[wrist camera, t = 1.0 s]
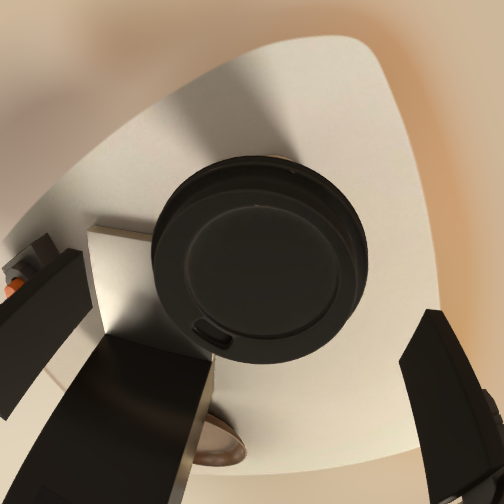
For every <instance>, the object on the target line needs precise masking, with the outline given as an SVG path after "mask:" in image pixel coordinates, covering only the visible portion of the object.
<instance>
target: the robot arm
mask: <svg viewBox="0 0 504 504" xmlns="http://www.w3.org/2000/svg"><path fill="white" fill-rule="evenodd" d="M92 308H93V306H92V302H91V297H90V292H89V287H88V282H87V276H86V271H85V265H84V259H83V252H82V251H80V250H76V249H71V248H67V249H66V250H65V251H64V252H62V253H61V254H60V255H58V256H57V257H56V258H55V259H53V260H52V261H51V262H50V263H48V264H47V265H46V266H45V267H43V268H42V269H41V270H40V271H39V272H37V273H36V274H35V275H34V276H33V277H31V278H30V279H29V280H28V281H27V282H26V283H24V284H23V285H22V286H21V287H20V288H19V289H17V290H16V291H15V292H14V293H13V294H12V295H11V296H10V297H9V298H7V299H6V300H5V301H4V302H3V303H2V304H0V417H1V418H2V419H4V420H5V421H6V420H7V419H8V417H9V416H10V414H11V413H12V411H13V410H14V408H15V407H16V406H17V404H18V403H19V401H20V400H21V398H22V397H23V396H24V394H25V393H26V391H27V390H28V389H29V387H30V386H31V384H32V383H33V382H34V380H35V379H36V377H37V376H38V375H39V374H40V372H41V371H42V370H43V368H44V367H45V366H46V364H47V363H48V362H49V360H50V359H51V358H52V357H53V355H54V354H55V353H56V351H57V350H58V349H59V348H60V346H61V345H62V344H63V343H64V341H65V340H66V339H67V338H68V336H69V335H70V334H71V333H72V332H73V330H74V329H75V328H76V327H77V326H78V324H79V323H80V322H81V321H82V320H83V318H84V317H85V316H86V315H87V314H88V312H89V311H90V310H91V309H92ZM399 365H400V368H401V371H402V375H403V378H404V382H405V385H406V389H407V393H408V397H409V400H410V404H411V408H412V412H413V416H414V420H415V424H416V429H417V433H418V438H419V442H420V447H421V452H422V457H423V462H424V467H425V473H426V479H427V485H428V492H429V499H430V504H447V503H450V502H452V501H454V500H455V499H457V498H459V497H460V496H462V500H463V501H462V502H460V503H458V504H504V424H503V420H502V418H501V415H499V410H498V408H497V406H496V403H495V401H494V399H493V398H492V397H491V395H490V394H489V393H488V392H487V391H486V389H481V386H480V384H479V382H478V379H477V377H476V375H475V373H474V371H473V369H472V367H471V365H470V362H469V360H468V358H467V356H466V354H465V352H464V351H463V348H462V347H461V345H460V343H459V341H458V339H457V337H456V335H455V333H454V331H453V330H452V328H451V326H450V324H449V322H448V321H447V319H446V317H445V315H444V313H443V312H442V311H440V310H431V309H426V310H425V313H424V315H423V317H422V319H421V321H420V323H419V325H418V327H417V329H416V331H415V332H414V334H413V336H412V338H411V340H410V342H409V344H408V346H407V347H406V349H405V351H404V353H403V354H402V356H401V358H400V360H399Z"/></svg>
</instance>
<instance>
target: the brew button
mask: <svg viewBox="0 0 504 504" xmlns="http://www.w3.org/2000/svg"><path fill="white" fill-rule="evenodd" d="M23 284H24V282H23V281H22V280H21V279H20V278H15V279H14V280H13V281H12V282H11V283H10V284H8V285H7V286H6V287H5V295H6V297H7V298H9V297H10V296H11V295H12V294H13V293H14V292H15V291H16V290H17V289H19V288H20V287H21V286H22V285H23Z"/></svg>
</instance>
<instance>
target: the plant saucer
mask: <svg viewBox="0 0 504 504" xmlns="http://www.w3.org/2000/svg"><path fill="white" fill-rule="evenodd" d="M246 456H247V451H246V448H245V446H244V444H243V442H242V440H241V439H240V437H239V436H238V435H237V434H236V432H235V431H234V430H233V429H232V428H231V427H229V426H228V425H227V424H226V423H224V422H223V421H221V420H220V419H218V418H216V417H215V416H213V415H211V414H209V413H207V415H206V419H205V422H204V425H203V429H202V432H201V436H200V439H199V443H198V446H197V450H196V453H195V457H194V460H193V464H196V465H202V466H211V467H225V466H231V465H235V464H238V463H240V462H242V461H243V460H244V459H245V458H246Z"/></svg>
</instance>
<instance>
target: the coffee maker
mask: <svg viewBox="0 0 504 504" xmlns="http://www.w3.org/2000/svg"><path fill="white" fill-rule="evenodd" d="M86 232H87V240H88V248H89V255H90V261H91V267H92V273H93V279H94V284H95V289H96V294H97V299H98V304H99V309H100V313H101V318H102V322H103V326H104V330H105V335H104V337H103V338H102V339H101V341H100V342H99V344H98V345H97V347H96V348H95V349H94V351H93V352H92V354H91V355H90V357H89V358H88V359H87V361H86V362H85V364H84V365H83V367H82V368H81V370H80V371H79V373H78V374H77V376H76V377H75V379H74V380H73V382H72V383H71V385H70V386H69V388H68V389H67V391H66V392H65V394H64V396H63V397H62V399H61V400H60V402H59V403H58V405H57V407H56V408H55V410H54V411H53V413H52V415H51V416H50V418H49V420H48V421H47V423H46V424H45V426H44V428H43V429H42V431H41V433H40V435H39V436H38V438H37V439H36V441H35V443H34V445H33V446H32V448H31V450H30V452H29V454H28V455H27V457H26V459H25V460H24V462H23V464H22V466H21V468H20V470H19V471H18V474H17V475H16V477H15V479H14V481H13V483H12V485H11V487H10V489H9V491H8V493H7V495H6V497H5V499H4V501H3V503H2V504H181V502H182V498H183V495H184V491H185V488H186V484H187V481H188V477H189V474H190V470H191V467H192V464H193V460H194V457H195V453H196V450H197V446H198V443H199V439H200V436H201V432H202V429H203V425H204V422H205V419H206V415H207V412H208V408H209V405H210V401H211V398H212V394H213V386H214V365H215V354H213V353H211V352H209V351H207V350H205V349H204V348H202V347H200V346H199V345H197V344H196V343H194V342H193V341H191V340H190V339H189V338H188V337H186V336H185V335H184V334H183V333H182V332H181V331H180V330H179V329H178V328H177V327H176V326H175V324H174V323H173V322H172V321H171V319H170V318H169V317H168V315H167V314H166V312H165V310H164V308H163V306H162V304H161V302H160V300H159V297H158V294H157V291H156V287H155V282H154V275H153V270H152V264H151V242H152V236H153V235H150V234H144V233H138V232H132V231H126V230H120V229H114V228H108V227H101V226H95V225H94V226H92V227H91V228H89V229H88V230H87V231H86Z"/></svg>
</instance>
